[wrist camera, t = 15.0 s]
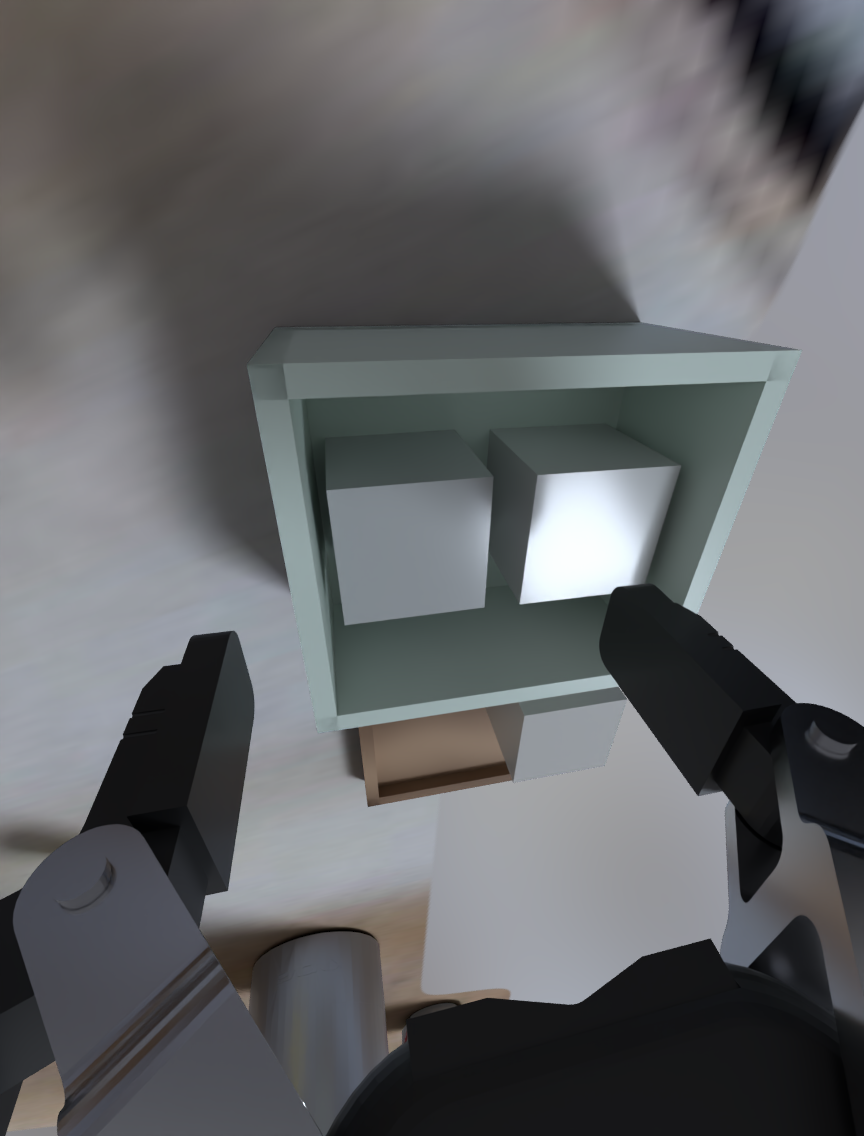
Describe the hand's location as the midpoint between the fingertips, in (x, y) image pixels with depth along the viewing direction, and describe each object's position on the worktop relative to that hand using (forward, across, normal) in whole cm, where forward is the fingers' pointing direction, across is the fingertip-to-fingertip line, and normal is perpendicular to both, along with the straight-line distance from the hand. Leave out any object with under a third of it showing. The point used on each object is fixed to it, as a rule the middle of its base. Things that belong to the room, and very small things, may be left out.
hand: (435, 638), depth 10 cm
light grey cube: (+7, -6, +9) cm, 12 cm away
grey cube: (+7, -5, 0) cm, 9 cm away
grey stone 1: (+7, 0, 0) cm, 7 cm away
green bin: (+8, -3, 0) cm, 8 cm away
